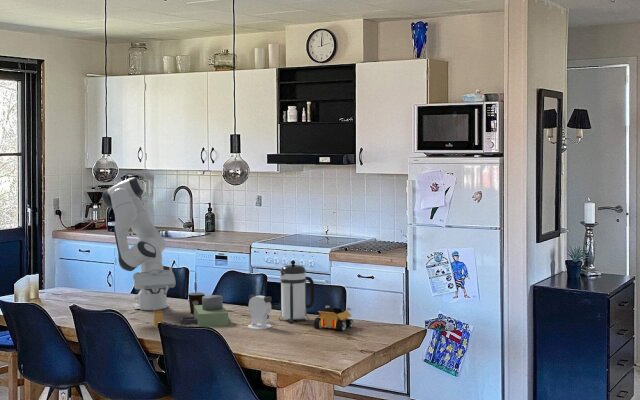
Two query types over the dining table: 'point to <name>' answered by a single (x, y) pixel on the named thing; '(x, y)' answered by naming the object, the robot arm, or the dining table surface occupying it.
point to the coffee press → (295, 292)
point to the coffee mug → (195, 300)
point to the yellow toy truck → (333, 319)
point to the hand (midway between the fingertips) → (155, 294)
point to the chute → (158, 317)
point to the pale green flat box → (208, 312)
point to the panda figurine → (259, 311)
